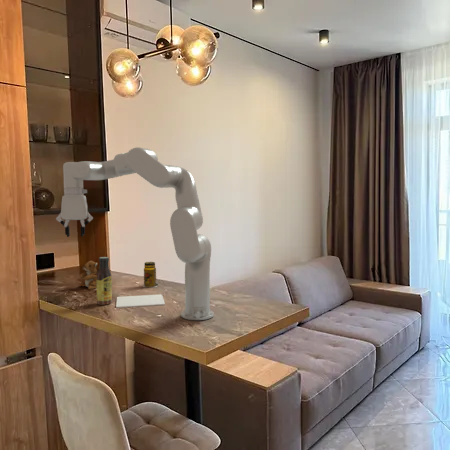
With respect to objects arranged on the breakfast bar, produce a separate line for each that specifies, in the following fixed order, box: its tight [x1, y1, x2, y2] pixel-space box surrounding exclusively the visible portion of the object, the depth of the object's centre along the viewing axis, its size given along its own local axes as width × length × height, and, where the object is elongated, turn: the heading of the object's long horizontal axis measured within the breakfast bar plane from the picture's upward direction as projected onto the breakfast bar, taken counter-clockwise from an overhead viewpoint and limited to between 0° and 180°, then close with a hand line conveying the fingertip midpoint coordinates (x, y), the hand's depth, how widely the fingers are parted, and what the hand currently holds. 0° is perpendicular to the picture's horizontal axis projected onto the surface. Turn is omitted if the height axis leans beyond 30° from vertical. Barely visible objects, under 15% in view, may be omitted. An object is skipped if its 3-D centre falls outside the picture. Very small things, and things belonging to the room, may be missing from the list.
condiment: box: [142, 261, 160, 288], centre depth 213 cm, size 7×8×12 cm
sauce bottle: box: [96, 256, 113, 306], centre depth 180 cm, size 7×6×20 cm
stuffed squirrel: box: [79, 260, 111, 290], centre depth 212 cm, size 10×14×13 cm
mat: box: [115, 293, 166, 309], centre depth 184 cm, size 16×20×1 cm
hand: (75, 235), depth 176 cm, fingers open, 4 cm apart
